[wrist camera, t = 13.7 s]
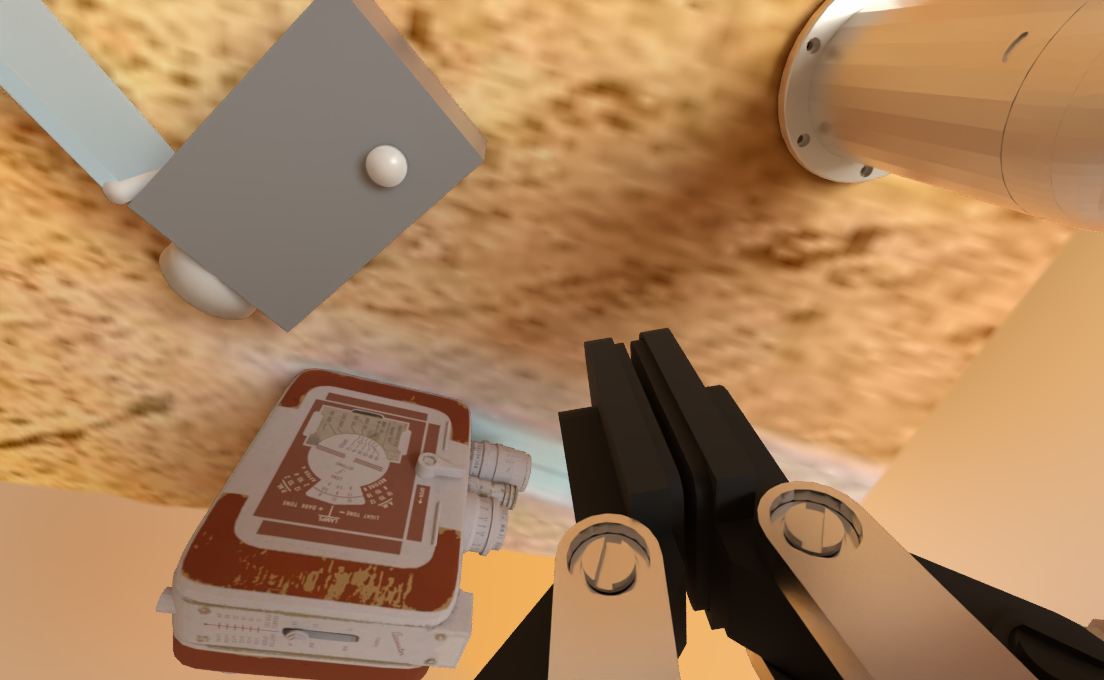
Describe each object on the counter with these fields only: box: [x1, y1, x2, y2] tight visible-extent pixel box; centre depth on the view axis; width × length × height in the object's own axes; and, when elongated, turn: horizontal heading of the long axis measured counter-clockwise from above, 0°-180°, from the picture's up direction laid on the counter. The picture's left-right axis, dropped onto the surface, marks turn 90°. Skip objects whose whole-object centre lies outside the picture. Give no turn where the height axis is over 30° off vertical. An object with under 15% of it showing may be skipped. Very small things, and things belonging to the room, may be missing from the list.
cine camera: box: [156, 369, 531, 680], centre depth 35 cm, size 9×19×20 cm, turn 70°
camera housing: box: [127, 0, 487, 332], centre depth 30 cm, size 20×10×8 cm, turn 128°
